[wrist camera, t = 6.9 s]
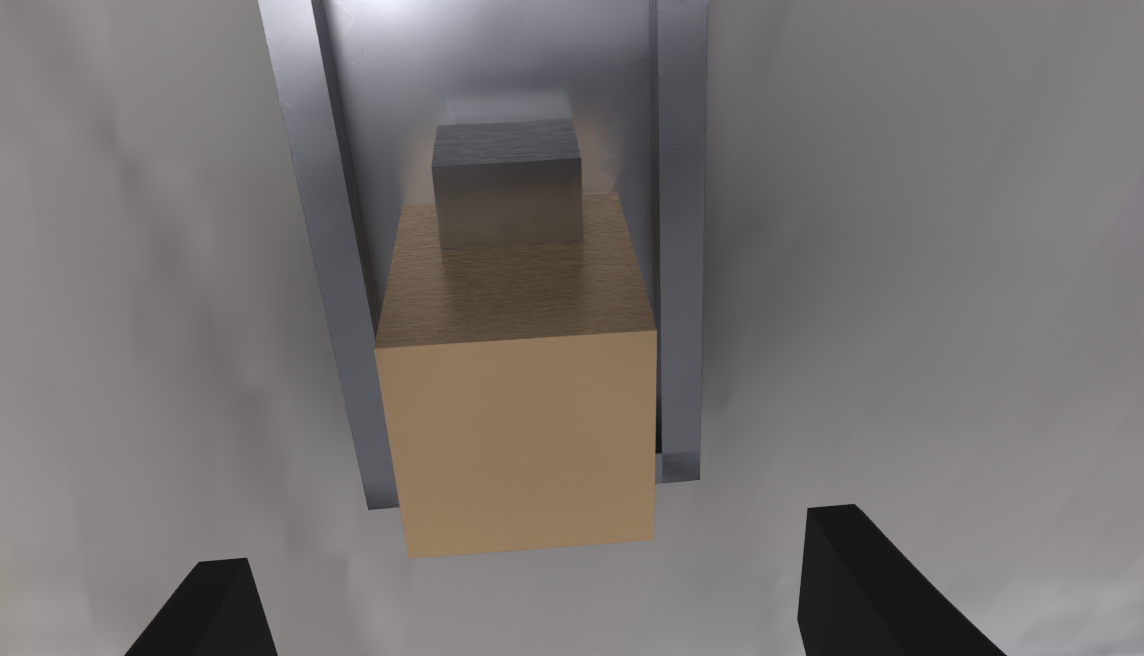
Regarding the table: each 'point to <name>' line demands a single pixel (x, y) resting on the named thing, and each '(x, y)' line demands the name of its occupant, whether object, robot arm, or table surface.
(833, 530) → the robot arm
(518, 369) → the wooden block with cap
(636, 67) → the tray
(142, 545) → the table surface
